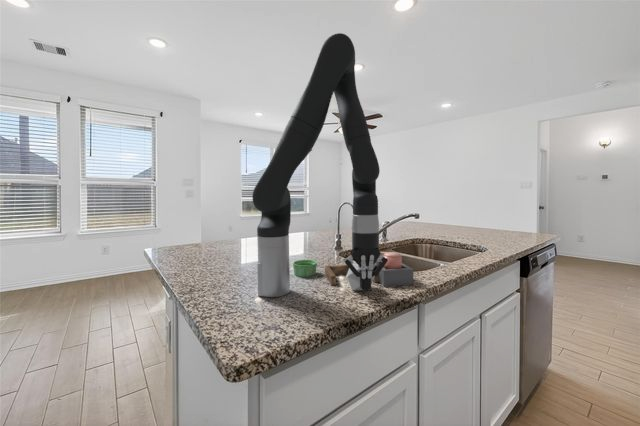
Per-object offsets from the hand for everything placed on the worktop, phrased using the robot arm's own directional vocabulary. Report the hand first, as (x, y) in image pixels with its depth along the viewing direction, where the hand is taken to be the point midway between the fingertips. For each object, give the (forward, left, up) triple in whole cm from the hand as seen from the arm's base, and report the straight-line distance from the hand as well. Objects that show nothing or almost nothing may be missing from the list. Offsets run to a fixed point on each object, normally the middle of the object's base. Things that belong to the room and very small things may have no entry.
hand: (365, 290), depth 80 cm
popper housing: (+13, +12, -2) cm, 18 cm away
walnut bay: (0, +17, -2) cm, 17 cm away
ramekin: (-15, +26, -2) cm, 30 cm away
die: (0, +6, -2) cm, 6 cm away
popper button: (+13, +12, +2) cm, 18 cm away
